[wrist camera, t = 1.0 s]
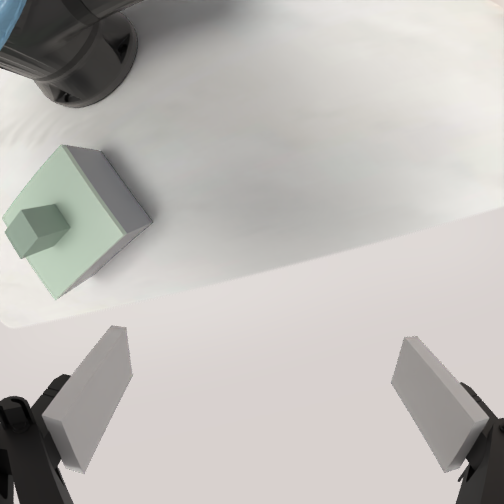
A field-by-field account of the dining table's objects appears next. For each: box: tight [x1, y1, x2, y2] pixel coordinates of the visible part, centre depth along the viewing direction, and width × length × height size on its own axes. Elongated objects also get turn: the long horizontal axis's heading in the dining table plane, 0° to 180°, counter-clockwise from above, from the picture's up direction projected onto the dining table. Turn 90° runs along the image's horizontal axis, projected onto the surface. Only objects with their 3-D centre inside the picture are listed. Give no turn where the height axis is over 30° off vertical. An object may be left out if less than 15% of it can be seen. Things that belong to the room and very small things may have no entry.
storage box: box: [62, 145, 153, 296], centre depth 35 cm, size 12×12×9 cm
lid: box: [2, 145, 127, 300], centre depth 28 cm, size 12×12×9 cm
